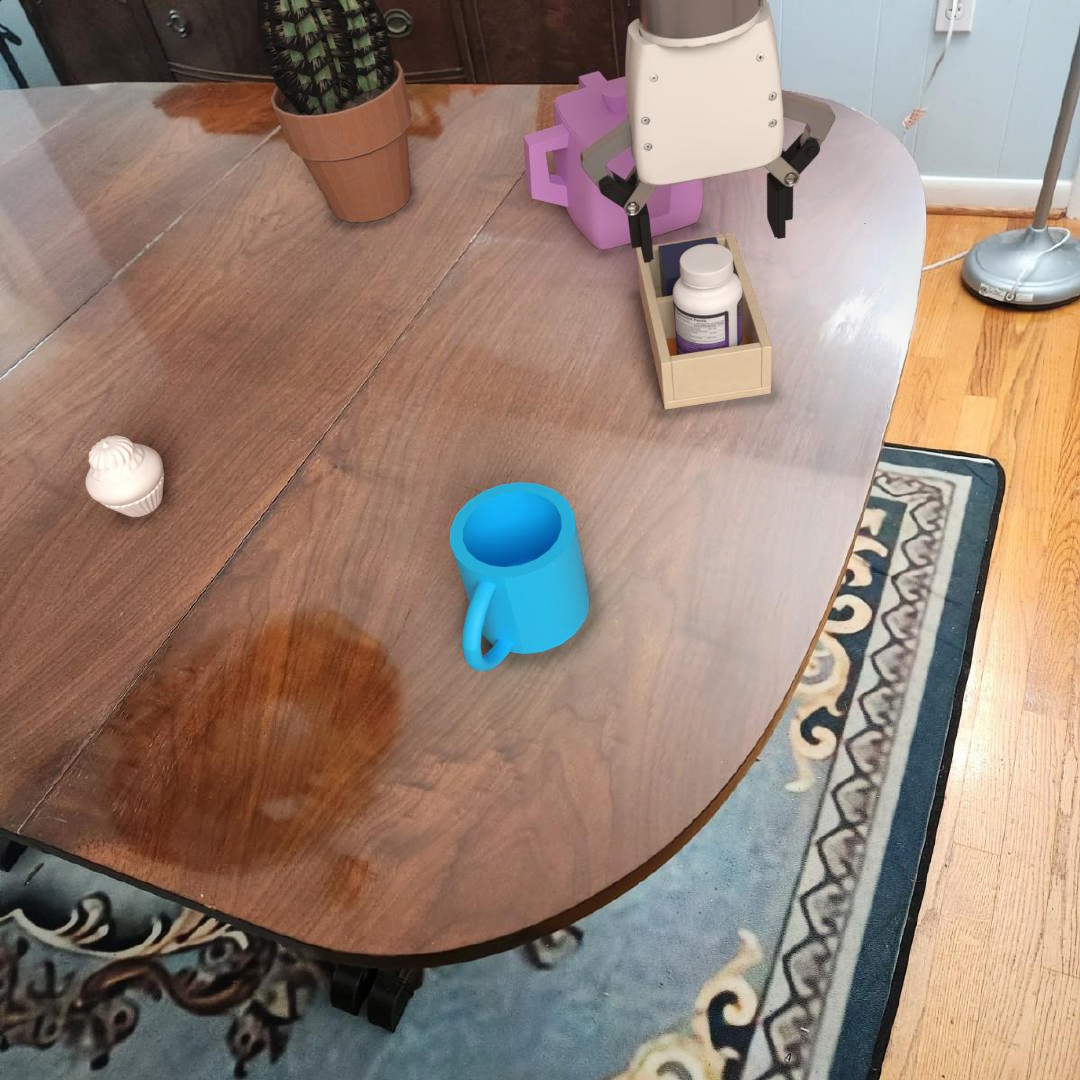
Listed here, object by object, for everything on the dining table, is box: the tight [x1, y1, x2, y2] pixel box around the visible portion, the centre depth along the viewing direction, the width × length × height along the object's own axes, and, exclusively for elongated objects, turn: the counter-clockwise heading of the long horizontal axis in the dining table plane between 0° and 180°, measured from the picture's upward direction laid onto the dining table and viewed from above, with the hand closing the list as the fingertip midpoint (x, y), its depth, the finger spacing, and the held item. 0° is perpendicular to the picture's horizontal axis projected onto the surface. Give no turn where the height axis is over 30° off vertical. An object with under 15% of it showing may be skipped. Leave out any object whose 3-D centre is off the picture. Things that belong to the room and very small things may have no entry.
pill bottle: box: [673, 244, 743, 355], centre depth 80 cm, size 5×5×10 cm
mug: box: [449, 481, 591, 672], centre depth 66 cm, size 12×8×8 cm
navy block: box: [658, 237, 719, 297], centre depth 87 cm, size 5×5×5 cm
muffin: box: [85, 434, 165, 518], centre depth 81 cm, size 6×6×7 cm
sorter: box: [635, 231, 773, 411], centre depth 85 cm, size 9×16×5 cm, turn 3°
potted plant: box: [256, 0, 413, 224], centre depth 102 cm, size 14×14×25 cm
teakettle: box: [522, 70, 704, 251], centre depth 98 cm, size 17×17×12 cm
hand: (710, 240), depth 75 cm, fingers open, 9 cm apart
